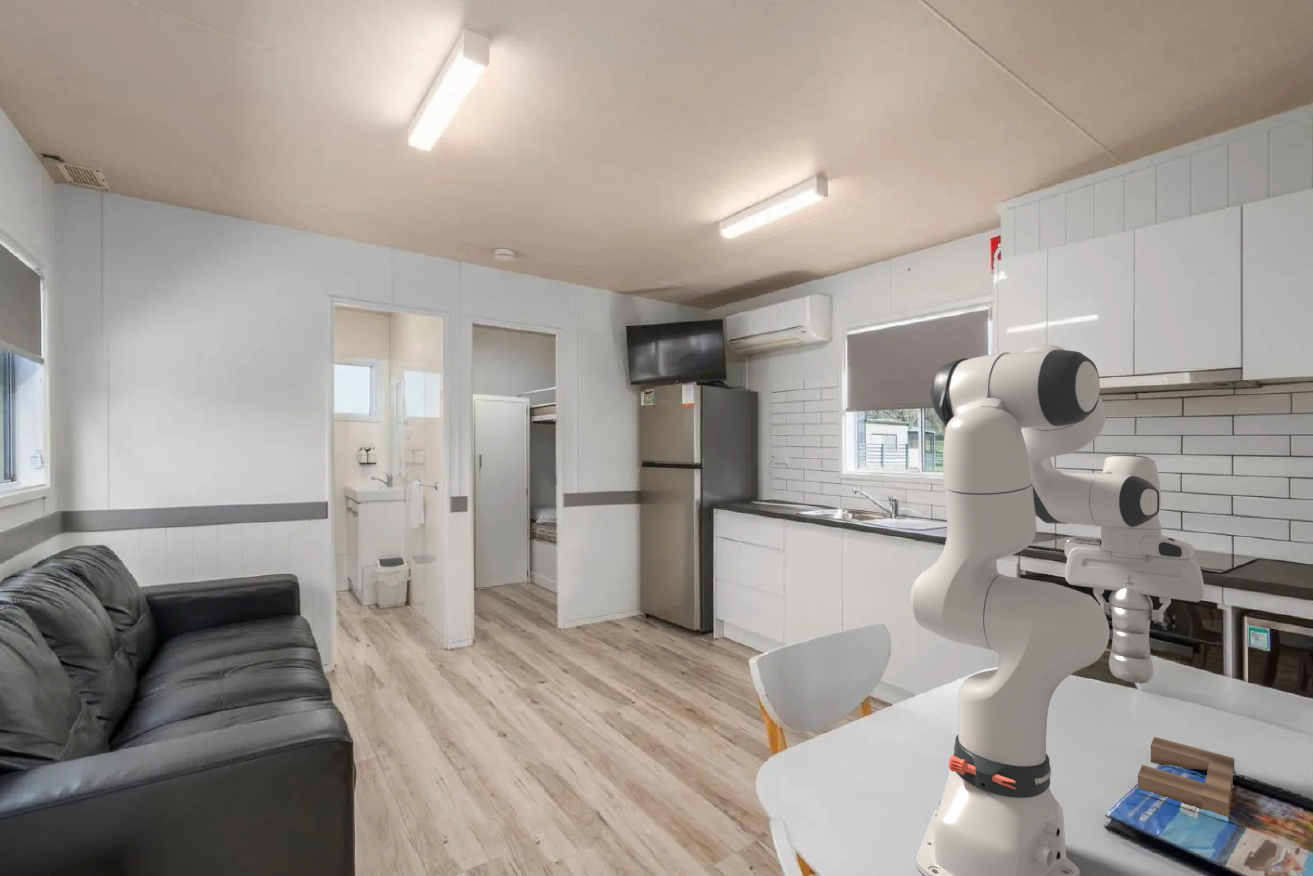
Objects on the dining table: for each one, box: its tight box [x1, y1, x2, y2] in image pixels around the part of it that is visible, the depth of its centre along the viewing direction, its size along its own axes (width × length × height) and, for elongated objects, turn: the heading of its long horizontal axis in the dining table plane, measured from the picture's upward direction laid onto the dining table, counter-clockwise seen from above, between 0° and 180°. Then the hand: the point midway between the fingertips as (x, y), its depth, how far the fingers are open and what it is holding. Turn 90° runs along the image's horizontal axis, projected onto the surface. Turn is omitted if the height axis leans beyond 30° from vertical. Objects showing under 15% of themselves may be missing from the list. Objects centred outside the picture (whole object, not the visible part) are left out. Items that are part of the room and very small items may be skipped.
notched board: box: [1137, 736, 1236, 819], centre depth 103 cm, size 20×11×3 cm, turn 134°
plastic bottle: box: [1108, 575, 1155, 684], centre depth 111 cm, size 6×7×20 cm
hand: (1131, 616), depth 111 cm, fingers closed on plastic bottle, 6 cm apart
